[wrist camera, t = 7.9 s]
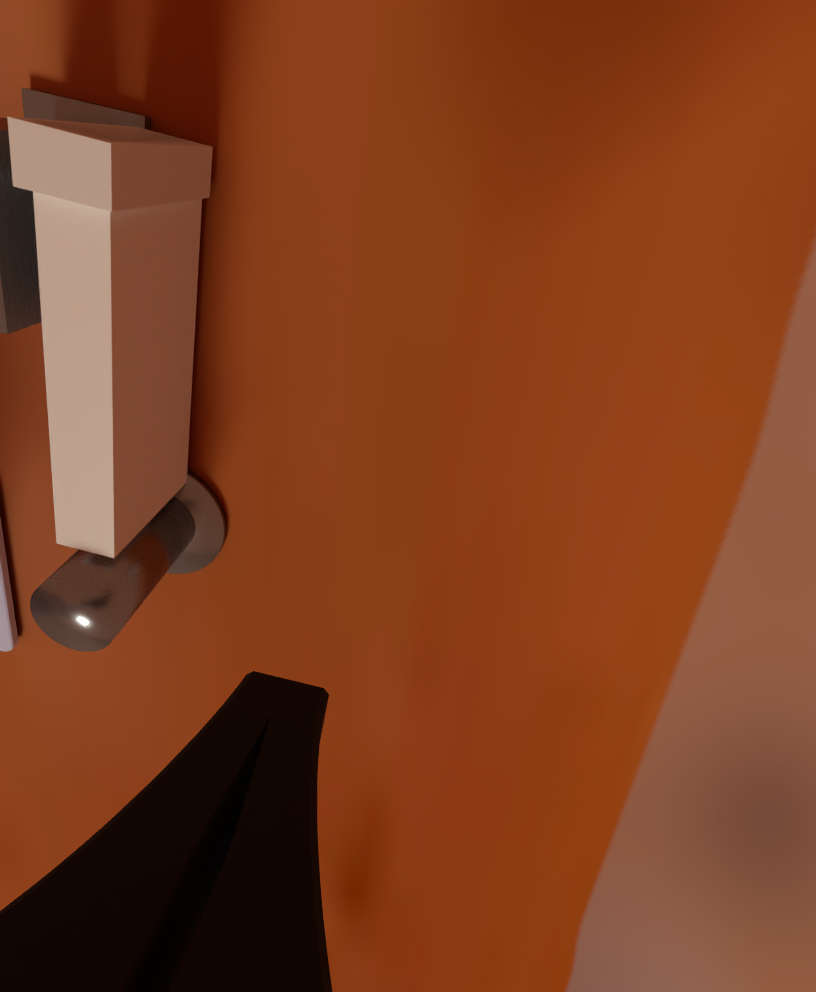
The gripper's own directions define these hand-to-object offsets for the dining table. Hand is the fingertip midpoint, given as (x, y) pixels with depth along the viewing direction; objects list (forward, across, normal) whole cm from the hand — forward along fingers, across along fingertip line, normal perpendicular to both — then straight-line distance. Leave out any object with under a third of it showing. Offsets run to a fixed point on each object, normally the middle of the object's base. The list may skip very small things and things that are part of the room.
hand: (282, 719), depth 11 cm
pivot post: (+10, +7, +4) cm, 13 cm away
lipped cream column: (+10, +7, -3) cm, 13 cm away
